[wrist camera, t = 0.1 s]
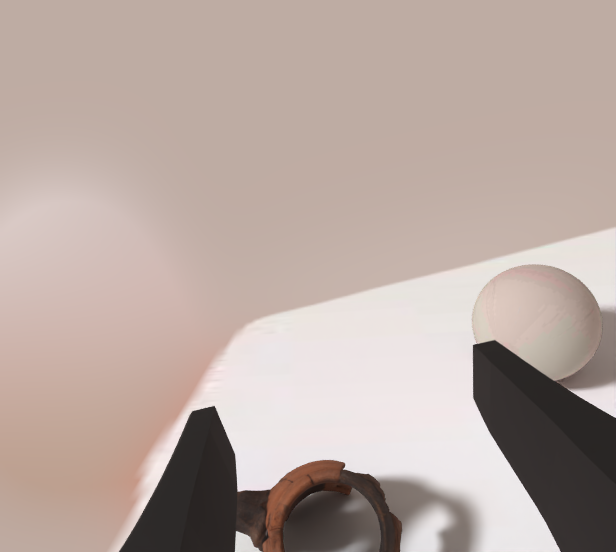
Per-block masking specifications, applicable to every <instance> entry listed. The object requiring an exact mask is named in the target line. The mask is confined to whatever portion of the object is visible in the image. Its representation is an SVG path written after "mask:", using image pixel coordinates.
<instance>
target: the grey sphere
mask: <svg viewBox="0 0 616 552" xmlns="http://www.w3.org/2000/svg"><path fill="white" fill-rule="evenodd" d="M472 328H473V333H474V337H475V340H476V343H477V344H479V343H483V342H488V341H492V340H496V341H497V342H499V343H500V344H502V345H503V346H505V347H506V348H507V349H509V350H510V351H512V352H513V353H515V354H516V355H517V356H519V357H520V358H522V359H523V360H524V361H526V362H527V363H529V364H530V365H532V366H533V367H534V368H536V369H537V370H539V371H540V372H542V373H543V374H545V375H546V376H548V377H549V378H551V379H552V380H554V381H556V380H560V379H563V378H566V377H568V376H570V375H572V374H574V373H576V372H577V371H579V370H580V369H581V368H583V367H584V366H585V365H586V364H587V363H588V362H589V361H590V360H591V358H592V357H593V355H594V354H595V352H596V350H597V348H598V346H599V343H600V340H601V336H602V316H601V311H600V308H599V306H598V303H597V301H596V299H595V297H594V296H593V294H592V293H591V292H590V290H589V289H588V288H587V287H586V286H585V285H584V284H583V283H582V282H581V281H580V280H579V279H577V278H576V277H574V276H573V275H571V274H569V273H567V272H565V271H563V270H561V269H558V268H555V267H551V266H546V265H523V266H518V267H514V268H511V269H509V270H506V271H504V272H502V273H500V274H499V275H497V276H496V277H494V278H493V279H492V280H491V281H490V282H489V283H488V284H487V285H486V286H485V287H484V288H483V289H482V291H481V292H480V294H479V296H478V298H477V300H476V302H475V305H474V309H473V314H472Z"/></svg>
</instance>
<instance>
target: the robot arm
mask: <svg viewBox="0 0 616 552" xmlns="http://www.w3.org/2000/svg"><path fill="white" fill-rule="evenodd" d="M473 398H474V400H475V403H476V405H477V407H478V409H479V411H480V413H481V416H482V418H483V420H484V422H485V424H486V426H487V428H488V430H489V432H490V433H491V435H492V437H493V438H494V440H495V442H496V443H497V445H498V446H499V448H500V450H501V451H502V453H503V454H504V456H505V458H506V459H507V461H508V462H509V464H510V465H511V467H512V469H513V470H514V472H515V473H516V475H517V476H518V478H519V480H520V481H521V483H522V484H523V486H524V488H525V489H526V491H527V492H528V494H529V495H530V497H531V499H532V500H533V502H534V503H535V505H536V506H537V508H538V510H539V512H540V513H541V515H542V517H543V518H544V520H545V522H546V524H547V526H548V528H549V530H550V531H551V533H552V535H553V537H554V539H555V541H556V543H557V545H558V547H559V549H560V551H561V552H616V418H615V417H613V416H611V415H609V414H607V413H606V412H604V411H602V410H601V409H599V408H597V407H595V406H594V405H592V404H590V403H589V402H587V401H585V400H584V399H582V398H580V397H579V396H577V395H575V394H574V393H572V392H571V391H569V390H568V389H566V388H565V387H563V386H561V385H560V384H558V383H557V382H555V381H554V380H552V379H551V378H549V377H548V376H546V375H545V374H543V373H542V372H540V371H539V370H537V369H536V368H534V367H533V366H532V365H530V364H529V363H527V362H526V361H524V360H523V359H522V358H520V357H519V356H517V355H516V354H515V353H513V352H512V351H510V350H509V349H507V348H506V347H505V346H503V345H502V344H500V343H499V342H497V341H496V340H492V341H488V342H483V343H479V344H475V345H473ZM236 516H237V474H236V461H235V453H234V451H233V449H232V446H231V444H230V441H229V439H228V437H227V434H226V432H225V430H224V427H223V425H222V422H221V420H220V418H219V415H218V413H217V411H216V408H215V406H212V407H208V408H204V409H200V410H195V411H192V413H191V414H190V416H189V418H188V421H187V423H186V425H185V428H184V430H183V432H182V435H181V437H180V439H179V441H178V444H177V446H176V448H175V450H174V452H173V455H172V457H171V459H170V461H169V463H168V465H167V467H166V469H165V471H164V473H163V475H162V477H161V479H160V481H159V483H158V485H157V487H156V489H155V491H154V493H153V495H152V497H151V498H150V500H149V502H148V504H147V506H146V507H145V509H144V511H143V513H142V515H141V516H140V518H139V520H138V522H137V523H136V525H135V527H134V529H133V530H132V532H131V534H130V535H129V537H128V538H127V540H126V542H125V543H124V545H123V546H122V548H121V549H120V551H119V552H235V537H236Z"/></svg>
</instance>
